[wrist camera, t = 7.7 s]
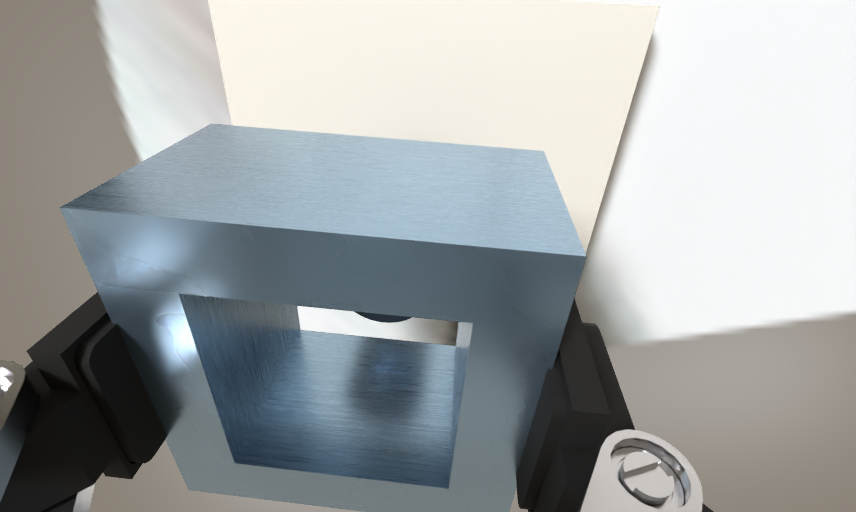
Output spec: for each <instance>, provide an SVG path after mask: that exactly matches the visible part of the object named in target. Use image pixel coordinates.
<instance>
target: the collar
mask: <svg viewBox="0 0 856 512" xmlns="http://www.w3.org/2000/svg"><path fill="white" fill-rule="evenodd" d="M60 210H61V212H62V214H63V217H64V219H65V221H66V223H67V225H68V228H69V230H70V232H71V234H72V236H73V238H74V241H75V243H76V245H77V247H78V249H79V252H80V254H81V256H82V258H83V260H84V262H85V265H86V266H87V269H88V271H89V273H90V276H91V278H92V280H93V282H94V284H95V286H96V289H97V291H98V293H99V295H100V297H101V300H102V302H103V304H104V306H105V308H106V311H107V313H108V315H109V317H110V319H111V321H112V323H115V324H117V325H118V328H119V330H120V332H121V334H122V337H123V339H124V341H125V343H126V345H127V348H128V350H129V352H130V354H131V357H132V359H133V361H134V363H135V365H136V368H137V370H138V372H139V374H140V376H141V379H142V381H143V383H144V385H145V388H146V390H147V392H148V394H149V396H150V399H151V401H152V403H153V405H154V408H155V410H156V412H157V414H158V416H159V419H160V421H161V423H162V425H163V427H164V430H165V432H166V434H167V437H166V441H167V443H168V446H169V448H170V450H171V452H172V455H173V456H174V459H175V461H176V463H177V465H178V468H179V470H180V472H181V474H182V476H183V479H184V481H185V483H186V485H187V487H188V489H189V490H192V491H201V492H208V493H217V494H226V495H233V496H241V497H250V498H258V499H265V500H275V501H282V502H290V503H298V504H306V505H315V506H323V507H331V508H339V509H347V510H355V511H363V512H509V510H510V507H511V504H512V501H513V497H514V494H515V491H516V488H517V484H516V475H517V471H518V468H519V465H520V461H521V458H522V454H523V451H524V448H525V444H526V441H527V437H528V434H529V431H530V427H531V424H532V420H533V417H534V414H535V410H536V407H537V403H538V400H539V397H540V393H541V390H542V387H543V383H544V380H545V376H546V373H547V370H548V369H553V366H554V363H555V359H556V356H557V353H558V349H559V346H560V343H561V339H562V336H563V333H564V330H565V326H566V323H567V320H568V316H569V313H570V310H571V307H572V303H573V300H574V297H575V293H576V290H577V287H578V284H579V280H580V277H581V274H582V270H583V267H584V264H585V260H586V257H587V256H586V254H585V251H584V249H583V246H582V244H581V241H580V239H579V236H578V234H577V231H576V229H575V226H574V224H573V222H572V219H571V217H570V214H569V212H568V209H567V207H566V204H565V202H564V199H563V197H562V194H561V192H560V189H559V187H558V185H557V182H556V180H555V177H554V175H553V172H552V170H551V167H550V165H549V162H548V160H547V157H546V155H545V153H544V151H538V150H525V149H513V148H501V147H489V146H477V145H465V144H452V143H440V142H428V141H416V140H404V139H391V138H379V137H367V136H355V135H343V134H331V133H318V132H306V131H294V130H282V129H270V128H257V127H245V126H233V125H221V124H210V125H208V126H206V127H205V128H203V129H201V130H199V131H197V132H196V133H194V134H192V135H190V136H188V137H186V138H185V139H183V140H181V141H179V142H177V143H176V144H174V145H172V146H170V147H168V148H166V149H165V150H163V151H161V152H159V153H157V154H156V155H154V156H152V157H150V158H148V159H147V160H145V161H143V162H141V163H139V164H137V165H136V166H134V167H132V168H130V169H128V170H127V171H125V172H123V173H121V174H119V175H118V176H116V177H114V178H112V179H110V180H108V181H107V182H105V183H103V184H101V185H99V186H98V187H96V188H94V189H92V190H90V191H89V192H87V193H85V194H83V195H81V196H80V197H78V198H76V199H74V200H72V201H70V202H69V203H67V204H65V205H63V206H61V207H60ZM297 306H307V307H317V308H326V309H336V310H346V311H356V312H366V313H376V314H386V315H396V316H406V317H415V318H425V319H435V320H445V321H455V322H459V324H458V332H457V340H456V346H450V345H440V344H431V343H421V342H411V341H402V340H392V339H383V338H373V337H363V336H354V335H344V334H334V333H325V332H315V331H305V330H300V324H299V317H298V310H297Z"/></svg>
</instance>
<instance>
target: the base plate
mask: <svg viewBox="0 0 856 512" xmlns="http://www.w3.org/2000/svg"><path fill="white" fill-rule="evenodd" d="M208 3H209V8H210V13H211V19H212V24H213V29H214V34H215V39H216V44H217V50H218V55H219V60H220V65H221V70H222V75H223V81H224V86H225V91H226V96H227V101H228V106H229V112H230V117H231V122H232V125H233V126H245V127H257V128H270V129H282V130H294V131H306V132H318V133H331V134H343V135H355V136H367V137H379V138H391V139H404V140H416V141H428V142H440V143H452V144H465V145H477V146H489V147H501V148H513V149H525V150H538V151H544V153H545V155H546V157H547V160H548V162H549V165H550V167H551V170H552V172H553V175H554V177H555V180H556V182H557V185H558V187H559V189H560V192H561V194H562V197H563V199H564V202H565V204H566V207H567V209H568V212H569V214H570V217H571V219H572V222H573V224H574V226H575V229H576V231H577V234H578V236H579V239H580V241H581V244H582V246H583V249H584V251H585V254H586V251H587V248H588V244H589V241H590V238H591V234H592V231H593V228H594V224H595V221H596V218H597V214H598V211H599V208H600V204H601V201H602V198H603V194H604V191H605V188H606V184H607V181H608V178H609V174H610V171H611V168H612V165H613V161H614V158H615V155H616V151H617V148H618V145H619V141H620V138H621V135H622V131H623V128H624V125H625V121H626V118H627V115H628V111H629V108H630V105H631V101H632V98H633V95H634V91H635V88H636V85H637V82H638V78H639V75H640V72H641V68H642V65H643V62H644V58H645V55H646V52H647V48H648V45H649V42H650V38H651V35H652V32H653V28H654V25H655V22H656V18H657V15H658V12H659V8H660V6H653V5H647V4H635V3H620V2H605V1H590V0H208Z"/></svg>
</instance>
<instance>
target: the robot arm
mask: <svg viewBox="0 0 856 512" xmlns="http://www.w3.org/2000/svg"><path fill="white" fill-rule="evenodd" d="M27 352H28V354H29V355H30V357H31V359H32V360H33V361H32V362H31V363H30V364H29V365H28V366H27V367H25V368H23V367H22V365H20V364H18V363H16V362H14V361H5V360H0V512H89V508H90V504H91V500H92V495H93V491H94V484H95V482H96V480H97V479H98V478H99V477H100V475H101V474H102V473H104V474H105V476H110V477H118V478H126V479H132V478H133V476H134V475H135V474H136V472H137V471H138V469H139V468H140V466H141V465H142V463H146V462H148V461H150V460H151V459H152V458H153V456H154V455H155V454H156V452H157V451H158V449H159V448H160V446H161V445H162V443H163V442H164V440H165V439H166V437H167V434H166V432H165V430H164V427H163V425H162V423H161V421H160V419H159V416H158V414H157V412H156V410H155V408H154V405H153V403H152V401H151V399H150V396H149V394H148V392H147V390H146V388H145V385H144V383H143V381H142V379H141V376H140V374H139V372H138V370H137V368H136V365H135V363H134V361H133V359H132V357H131V354H130V352H129V350H128V348H127V345H126V343H125V341H124V339H123V337H122V334H121V332H120V330H119V328H118V325H117V324H115V323H112V321H111V319H110V317H109V315H108V313H107V311H106V308H105V306H104V304H103V302H102V300H101V297H100V295H99V293H98V292H97V293H96V294H95V295H93V296H92V297H91V298H90V299H89V300H87V301H86V302H85V303H84V304H83V305H81V306H80V307H79V308H78V309H77V310H75V311H74V312H73V313H72V314H71V315H69V316H68V317H67V318H66V319H65V320H63V321H62V322H61V323H60V324H59V325H57V326H56V327H55V328H54V329H52V331H50V332H49V333H48V334H46V335H45V336H44V337H43V338H42V339H40V340H39V341H38V342H37V343H36V344H35V345H33V346H32V347H31V348H30V349H28V350H27ZM516 484H517V495H518V504H519V507H520V508H522V509H528V512H713V511H712V510H711V509H709V508H708V507H707V506H705V505H704V504H703V495H702V485H701V482H700V480H699V478H698V476H697V473H696V471H695V470H694V468H693V467H692V465H691V464H690V463H689V462H688V460H687V459H686V458H685V456H684V455H682V454H681V453H680V452H679V451H678V450H677V449H676V448H674V447H673V446H672V445H671V444H669V443H668V442H666V441H664V440H663V439H661V438H659V437H658V436H655V435H652V434H650V433H646V432H644V431H639V430H635V428H634V426H633V423H632V420H631V417H630V414H629V412H628V409H627V406H626V403H625V400H624V397H623V394H622V392H621V389H620V386H619V384H618V380H617V378H616V375H615V372H614V370H613V366H612V364H611V361H610V358H609V355H608V352H607V350H606V347H605V344H604V341H603V338H602V336H601V333H600V330H599V328H598V326H596V325H595V324H590V323H582V321H581V318H580V315H579V312H578V308H577V305H576V302H575V299H574V300H573V303H572V307H571V310H570V313H569V316H568V320H567V323H566V326H565V330H564V333H563V336H562V339H561V343H560V346H559V349H558V353H557V356H556V359H555V363H554V366H553V369H548V370H547V373H546V376H545V380H544V383H543V387H542V390H541V393H540V397H539V400H538V403H537V407H536V410H535V414H534V417H533V420H532V424H531V427H530V431H529V434H528V437H527V441H526V444H525V448H524V451H523V454H522V458H521V461H520V465H519V468H518V471H517V475H516Z"/></svg>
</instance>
